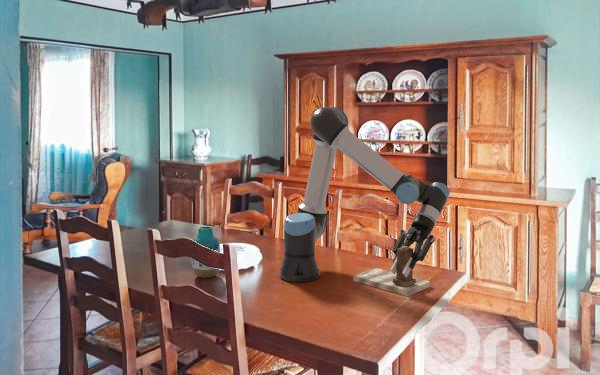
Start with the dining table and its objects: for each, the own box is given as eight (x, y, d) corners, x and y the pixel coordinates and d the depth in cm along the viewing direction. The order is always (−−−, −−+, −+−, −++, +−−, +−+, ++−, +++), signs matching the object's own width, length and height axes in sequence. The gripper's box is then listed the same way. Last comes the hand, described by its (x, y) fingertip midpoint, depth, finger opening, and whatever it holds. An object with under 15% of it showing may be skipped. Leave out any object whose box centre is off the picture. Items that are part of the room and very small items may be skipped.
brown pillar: (392, 282, 192) (393, 246, 190) (401, 279, 196) (402, 243, 194) (407, 286, 188) (408, 249, 186) (415, 283, 192) (417, 246, 190)
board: (353, 280, 201) (353, 275, 201) (375, 272, 211) (375, 267, 211) (408, 296, 185) (408, 290, 185) (429, 286, 195) (430, 281, 195)
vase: (190, 274, 209) (189, 225, 207) (218, 271, 213) (217, 223, 210) (193, 282, 199) (192, 231, 197) (222, 279, 203) (221, 229, 200)
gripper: (450, 229, 194) (424, 284, 185) (408, 222, 206) (382, 274, 196) (443, 217, 189) (416, 273, 180) (401, 210, 201) (373, 262, 192)
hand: (398, 273), depth 188 cm, fingers open, 4 cm apart
